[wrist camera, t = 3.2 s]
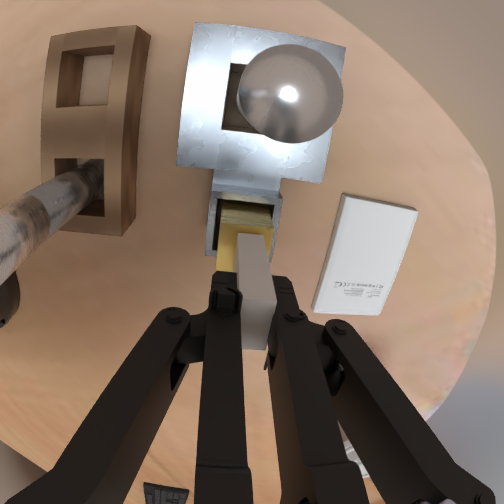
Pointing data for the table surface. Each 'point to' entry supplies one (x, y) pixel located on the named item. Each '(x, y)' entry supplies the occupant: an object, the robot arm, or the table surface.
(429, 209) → the table surface
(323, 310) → the external hard drive
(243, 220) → the yellow piece
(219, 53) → the block
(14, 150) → the table surface
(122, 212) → the rack
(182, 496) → the dark grey ribbed block
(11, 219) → the test tube
